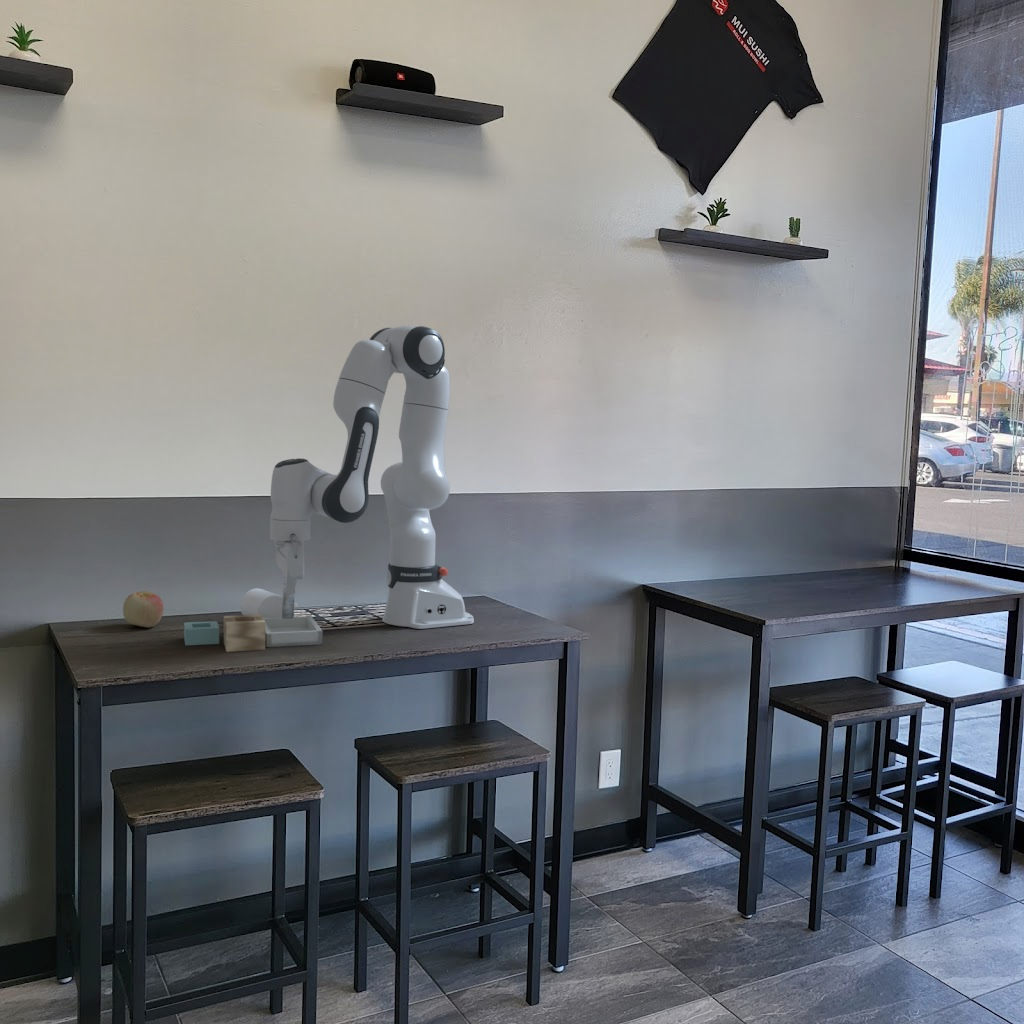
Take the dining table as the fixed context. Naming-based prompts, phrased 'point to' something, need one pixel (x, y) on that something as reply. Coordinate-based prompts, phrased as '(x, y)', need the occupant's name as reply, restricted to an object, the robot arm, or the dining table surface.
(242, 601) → the mug
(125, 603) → the apple
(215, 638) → the stand
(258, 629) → the beech block
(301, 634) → the tray
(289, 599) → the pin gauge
